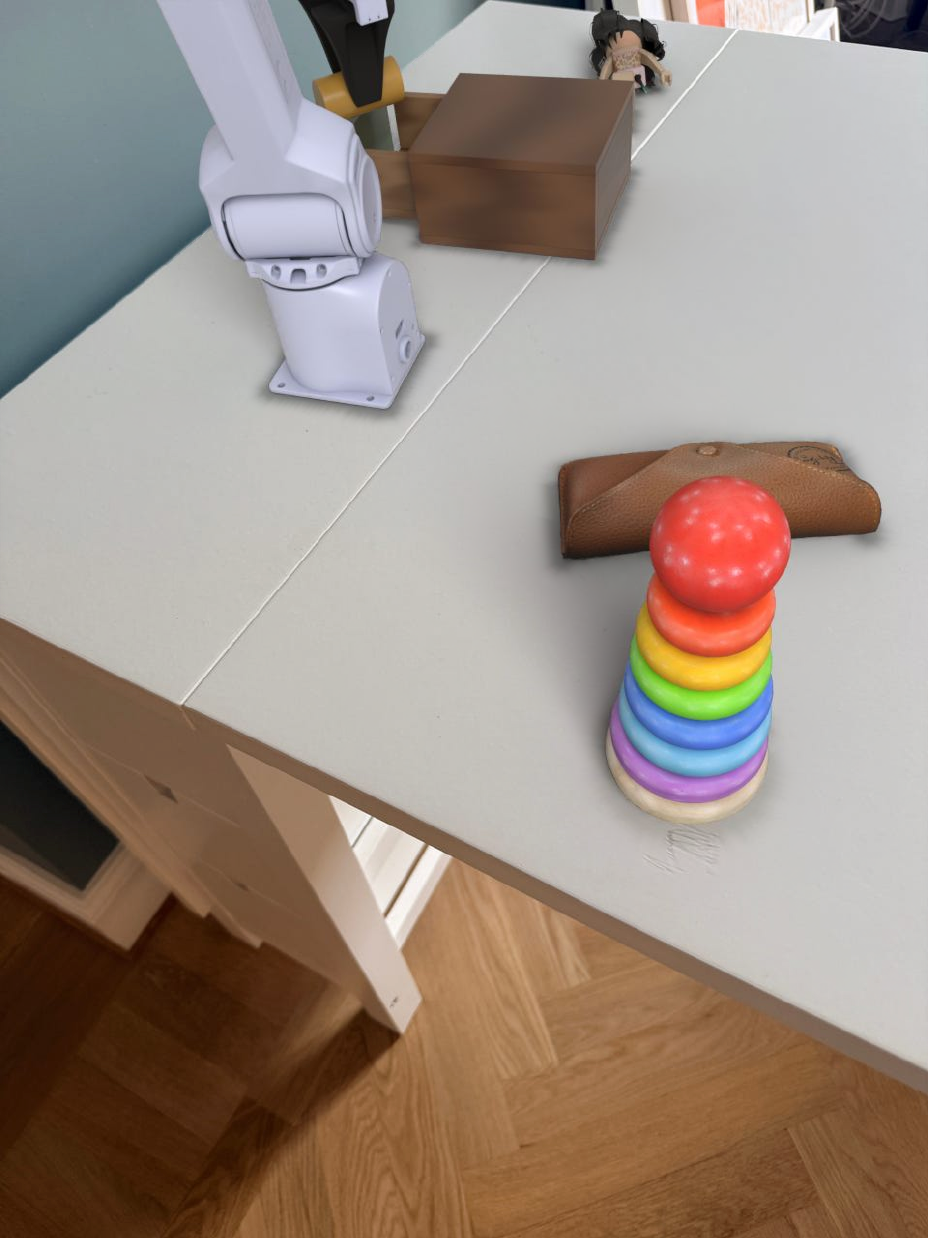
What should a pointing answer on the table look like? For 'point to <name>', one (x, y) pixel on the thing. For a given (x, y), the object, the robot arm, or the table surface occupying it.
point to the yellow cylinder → (338, 100)
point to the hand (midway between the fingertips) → (359, 92)
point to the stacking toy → (702, 655)
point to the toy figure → (627, 50)
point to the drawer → (381, 150)
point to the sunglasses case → (643, 481)
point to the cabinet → (523, 163)
